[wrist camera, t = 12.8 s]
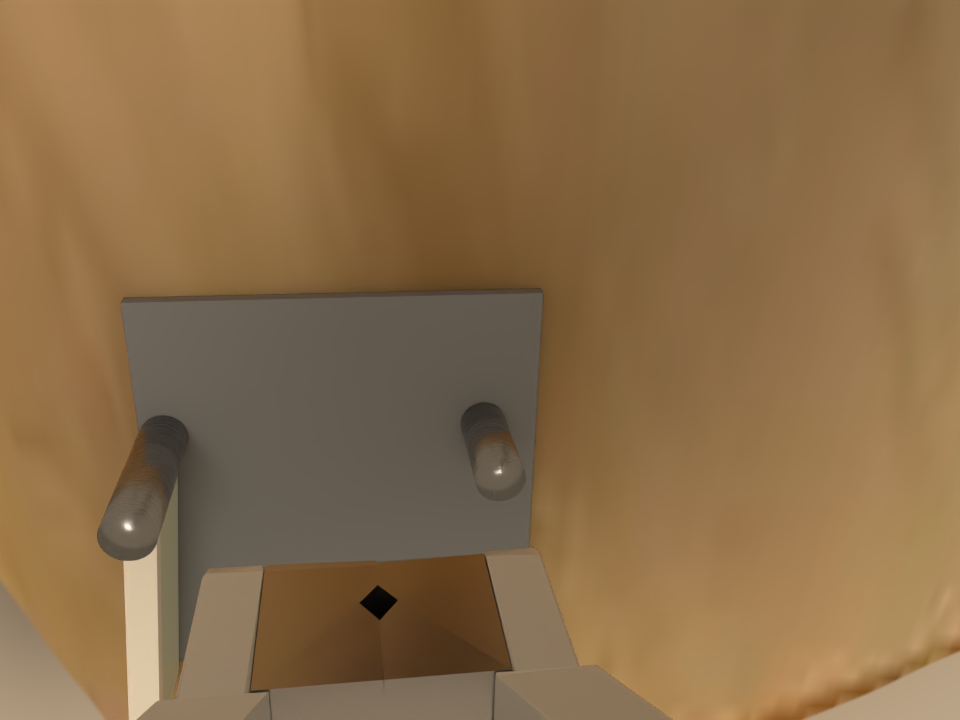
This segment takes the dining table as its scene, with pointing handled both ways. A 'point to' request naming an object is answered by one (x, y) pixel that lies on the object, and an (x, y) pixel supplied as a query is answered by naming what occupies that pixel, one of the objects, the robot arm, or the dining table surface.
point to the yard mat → (335, 422)
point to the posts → (164, 443)
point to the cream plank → (153, 619)
